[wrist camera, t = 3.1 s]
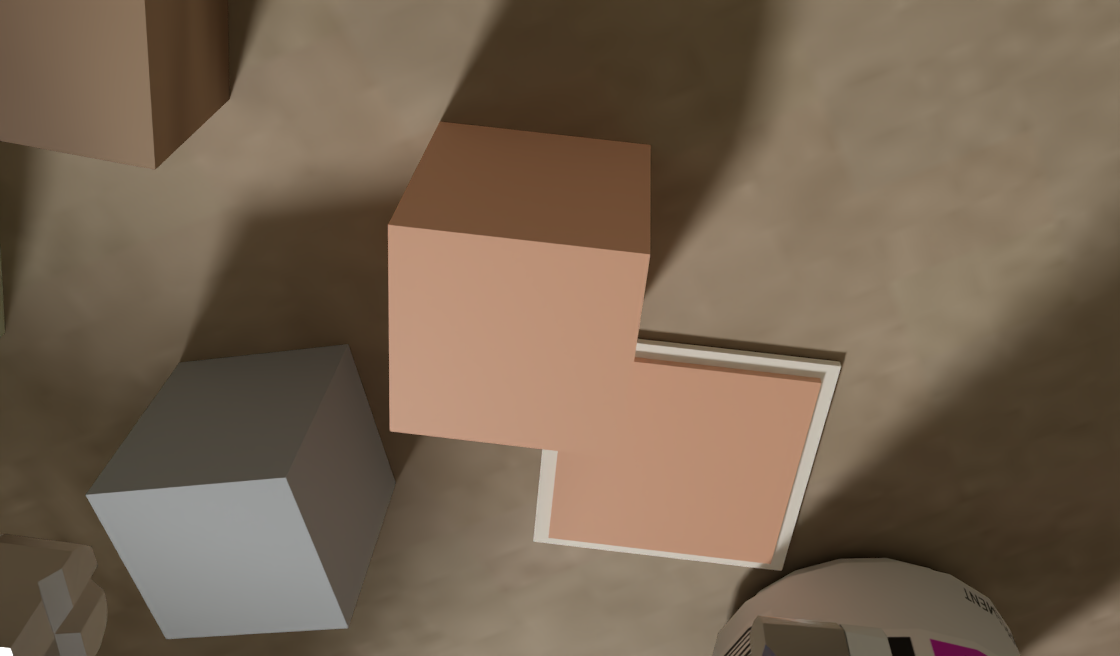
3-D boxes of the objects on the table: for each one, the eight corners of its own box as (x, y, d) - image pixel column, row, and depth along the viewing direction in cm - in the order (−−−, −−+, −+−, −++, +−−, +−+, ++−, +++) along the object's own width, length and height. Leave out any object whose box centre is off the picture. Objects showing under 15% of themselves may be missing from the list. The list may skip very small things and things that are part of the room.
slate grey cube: (349, 343, 24) (285, 477, 20) (396, 481, 27) (348, 627, 23) (180, 361, 25) (85, 494, 21) (240, 494, 27) (166, 639, 23)
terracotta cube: (650, 143, 21) (650, 254, 17) (625, 322, 23) (619, 457, 19) (440, 120, 21) (387, 224, 17) (436, 300, 24) (389, 431, 19)
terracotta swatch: (839, 361, 23) (842, 371, 23) (780, 565, 27) (782, 576, 27) (554, 329, 24) (552, 338, 23) (534, 536, 27) (532, 546, 27)
